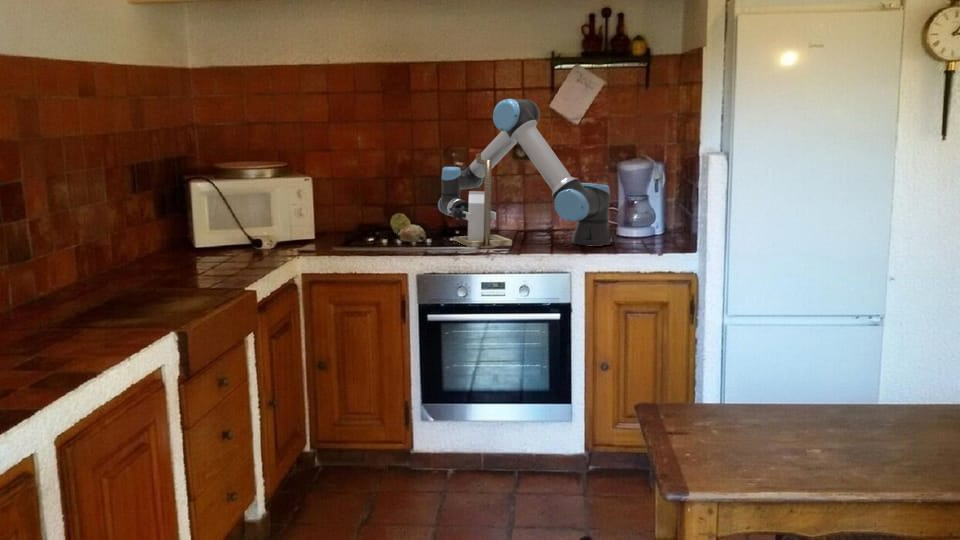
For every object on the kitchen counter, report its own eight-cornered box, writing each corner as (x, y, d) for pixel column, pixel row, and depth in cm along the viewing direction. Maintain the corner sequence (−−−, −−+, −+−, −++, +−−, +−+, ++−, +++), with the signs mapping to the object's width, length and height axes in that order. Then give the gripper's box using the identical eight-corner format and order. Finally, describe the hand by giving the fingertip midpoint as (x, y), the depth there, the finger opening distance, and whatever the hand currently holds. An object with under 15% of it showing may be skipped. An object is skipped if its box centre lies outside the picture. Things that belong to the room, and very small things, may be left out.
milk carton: (486, 243, 344) (487, 192, 340) (467, 243, 344) (468, 192, 340) (486, 240, 351) (488, 190, 347) (468, 240, 351) (469, 190, 347)
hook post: (482, 243, 349) (484, 153, 343) (494, 247, 339) (496, 155, 333) (470, 243, 347) (471, 153, 341) (481, 248, 337) (483, 155, 331)
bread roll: (410, 252, 348) (418, 234, 345) (391, 238, 352) (398, 220, 349) (425, 248, 356) (433, 231, 353) (406, 235, 360) (413, 217, 357)
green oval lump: (391, 236, 360) (391, 216, 359) (389, 232, 373) (389, 212, 371) (412, 236, 361) (412, 216, 360) (410, 232, 374) (410, 212, 372)
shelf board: (496, 239, 358) (496, 234, 357) (511, 245, 345) (512, 240, 345) (453, 241, 351) (453, 236, 350) (467, 247, 338) (467, 242, 338)
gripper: (485, 217, 366) (509, 225, 346) (433, 219, 358) (454, 227, 337) (485, 198, 365) (510, 205, 345) (433, 200, 356) (455, 207, 336)
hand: (482, 216), depth 341 cm, fingers open, 9 cm apart
